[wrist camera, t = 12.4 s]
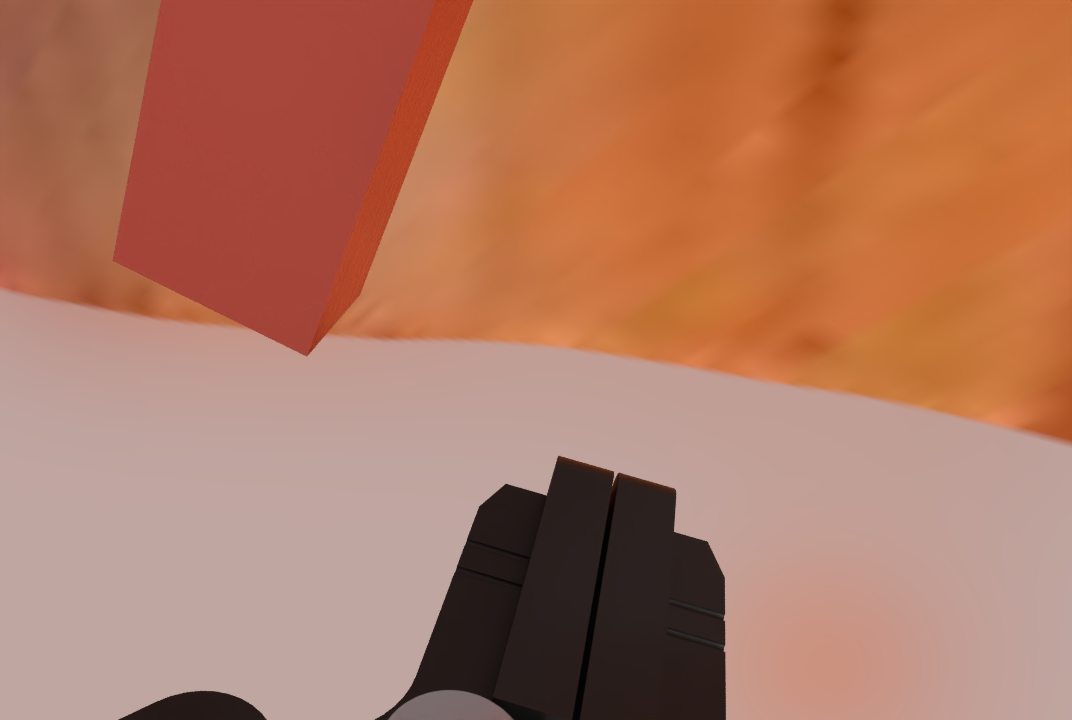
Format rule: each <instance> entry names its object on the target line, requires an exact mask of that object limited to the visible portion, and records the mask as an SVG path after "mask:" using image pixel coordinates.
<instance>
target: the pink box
mask: <svg viewBox="0 0 1072 720" xmlns="http://www.w3.org/2000/svg"><path fill="white" fill-rule="evenodd" d="M472 2H473V0H161V5H160V10H159V16H158V21H157V27H156V32H155V37H154V43H153V48H152V53H151V59H150V64H149V70H148V75H147V80H146V86H145V91H144V96H143V102H142V107H141V113H140V118H139V123H138V129H137V134H136V139H135V145H134V150H133V156H132V161H131V166H130V172H129V177H128V182H127V188H126V193H125V198H124V204H123V209H122V215H121V220H120V225H119V231H118V236H117V241H116V247H115V252H114V258H113V261H115V262H117V263H119V264H121V265H123V266H125V267H127V268H129V269H131V270H133V271H135V272H137V273H139V274H141V275H143V276H145V277H147V278H149V279H151V280H153V281H155V282H157V283H159V284H161V285H163V286H165V287H167V288H169V289H171V290H173V291H175V292H177V293H179V294H181V295H183V296H185V297H187V298H189V299H191V300H194V301H196V302H198V303H200V304H202V305H204V306H206V307H208V308H210V309H212V310H214V311H216V312H218V313H220V314H222V315H224V316H226V317H228V318H230V319H232V320H234V321H236V322H238V323H240V324H242V325H244V326H246V327H248V328H250V329H252V330H254V331H256V332H258V333H260V334H262V335H264V336H266V337H268V338H270V339H272V340H275V341H277V342H279V343H281V344H283V345H285V346H287V347H289V348H291V349H293V350H295V351H297V352H299V353H301V354H303V355H305V356H308V355H309V353H310V352H311V351H312V350H313V349H314V348H315V346H316V345H317V344H318V343H319V342H320V341H321V340H322V338H323V337H324V336H325V335H326V334H327V333H328V331H329V330H330V329H331V328H332V327H333V326H334V324H335V323H336V322H337V321H338V320H339V319H340V317H341V316H342V315H343V314H344V313H345V312H346V310H347V309H348V308H349V307H350V306H351V305H352V303H353V302H354V301H355V300H356V299H357V298H358V296H359V295H360V293H361V290H362V288H363V285H364V283H365V280H366V277H367V275H368V272H369V270H370V267H371V264H372V262H373V259H374V257H375V254H376V251H377V249H378V246H379V244H380V241H381V238H382V236H383V233H384V231H385V228H386V225H387V223H388V220H389V218H390V215H391V213H392V210H393V207H394V205H395V202H396V200H397V197H398V194H399V192H400V189H401V187H402V184H403V181H404V179H405V176H406V174H407V171H408V168H409V166H410V163H411V161H412V158H413V155H414V153H415V150H416V148H417V145H418V142H419V140H420V137H421V135H422V132H423V129H424V127H425V124H426V122H427V119H428V116H429V114H430V111H431V109H432V106H433V103H434V101H435V98H436V96H437V93H438V90H439V88H440V85H441V83H442V80H443V77H444V75H445V72H446V70H447V67H448V64H449V62H450V59H451V57H452V54H453V51H454V49H455V46H456V44H457V41H458V39H459V36H460V33H461V31H462V28H463V26H464V23H465V20H466V18H467V15H468V13H469V10H470V7H471V5H472Z"/></svg>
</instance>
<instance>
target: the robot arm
mask: <svg viewBox="0 0 1072 720" xmlns="http://www.w3.org/2000/svg"><path fill="white" fill-rule="evenodd" d="M613 478H614V472H613V471H610V470H607V469H603V468H600V467H596V466H593V465H589V464H586V463H582V462H579V461H575V460H572V459H568V458H565V457H561V456H558V458H557V462H556V465H555V469H554V472H553V476H552V479H551V483H550V486H549V490H548V493H547V496H546V495H543V494H539V493H536V492H533V491H529V490H526V489H522V488H519V487H515V486H511V485H508V484H505V485H504V486H503V487H502V488H501V489H499V490H498V491H497V492H496V493H495V494H493V495H492V496H491V497H490V498H489V499H488V500H486V501H485V502H484V503H483V504H482V505H481V506H479V509H478V511H477V514H476V517H475V519H474V522H473V525H472V527H471V530H470V533H469V535H468V538H467V542H466V545H465V546H464V549H463V552H462V554H461V557H460V560H459V563H458V565H457V569H456V572H455V573H454V576H453V578H452V581H451V584H450V587H449V589H448V592H447V594H446V597H445V600H444V603H443V605H442V608H441V611H440V613H439V616H438V619H437V621H436V624H435V627H434V629H433V632H432V635H431V638H430V640H429V643H428V645H427V648H426V651H425V653H424V656H423V659H422V662H421V665H420V667H419V670H418V672H417V675H416V677H415V679H414V681H413V684H412V686H411V687H410V689H409V690H408V692H407V693H406V694H405V696H404V697H403V698H402V699H401V700H400V701H399V702H398V703H397V704H396V705H395V706H394V707H393V708H392V709H390V710H389V711H388V712H386V713H385V714H384V715H382V716H380V717H379V718H377V719H375V720H726V693H725V692H726V690H725V689H726V688H725V686H726V682H725V652H724V646H725V621H723V619H724V615H725V577H724V575H723V573H722V571H721V569H720V567H719V565H718V563H717V561H716V558H715V556H714V554H713V552H712V550H711V548H710V546H709V544H708V542H707V541H703V540H700V539H696V538H693V537H689V536H686V535H683V534H679V533H676V532H674V521H675V506H676V490H675V489H674V488H670V487H667V486H663V485H660V484H657V483H653V482H650V481H646V480H642V479H639V478H635V477H632V476H629V475H625V474H622V473H618V474H617V476H616V478H615V481H614V484H613ZM612 484H613V486H612ZM119 720H266V719H265V717H264V716H263V714H262V713H261V712H260V711H258V710H257V709H256V708H255V707H254V706H253V705H251V704H249V703H248V702H246V701H244V700H243V699H241V698H238V697H235V696H233V695H230V694H226V693H220V692H215V691H195V692H187V693H182V694H178V695H174V696H170V697H167V698H165V699H163V700H160V701H157V702H155V703H153V704H151V705H149V706H146V707H144V708H142V709H140V710H138V711H136V712H134V713H132V714H130V715H128V716H125V717H123V718H121V719H119Z"/></svg>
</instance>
